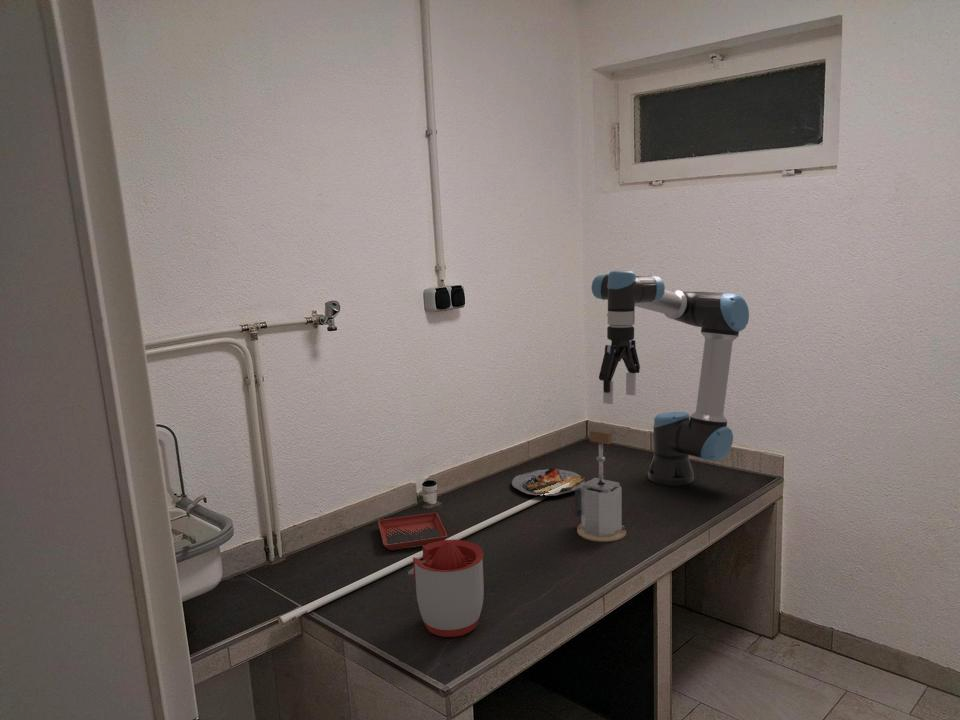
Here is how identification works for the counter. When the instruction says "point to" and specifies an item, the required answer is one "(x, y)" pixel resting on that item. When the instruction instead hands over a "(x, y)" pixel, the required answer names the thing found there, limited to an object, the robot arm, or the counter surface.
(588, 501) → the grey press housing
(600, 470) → the plunger
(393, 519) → the plant saucer
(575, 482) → the food plate
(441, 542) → the citrus juicer
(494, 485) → the counter surface
